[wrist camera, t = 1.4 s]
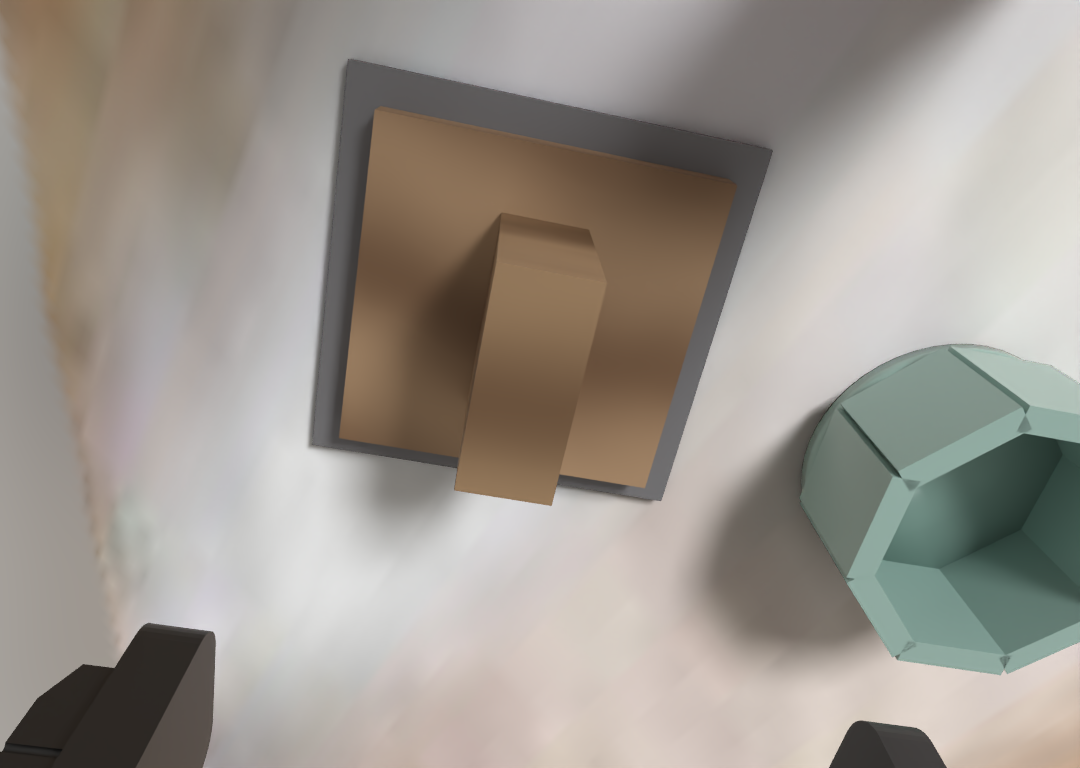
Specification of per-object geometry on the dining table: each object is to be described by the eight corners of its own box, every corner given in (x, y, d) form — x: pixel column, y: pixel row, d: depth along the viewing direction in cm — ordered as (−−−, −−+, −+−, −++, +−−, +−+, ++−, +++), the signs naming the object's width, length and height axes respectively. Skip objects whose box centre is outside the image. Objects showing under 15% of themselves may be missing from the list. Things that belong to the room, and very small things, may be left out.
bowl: (857, 321, 24) (933, 387, 20) (1111, 370, 25) (1239, 444, 21) (766, 548, 28) (814, 647, 24) (992, 583, 29) (1079, 686, 25)
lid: (380, 105, 21) (332, 132, 16) (728, 179, 22) (796, 227, 17) (345, 423, 25) (297, 532, 20) (640, 472, 26) (672, 588, 21)
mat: (350, 59, 21) (348, 59, 21) (768, 148, 22) (772, 151, 22) (315, 438, 26) (312, 444, 25) (659, 494, 27) (661, 501, 27)
